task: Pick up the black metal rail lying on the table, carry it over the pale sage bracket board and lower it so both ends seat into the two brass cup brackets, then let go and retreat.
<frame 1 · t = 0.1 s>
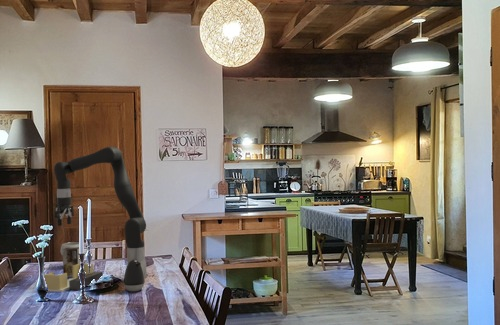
hand: (64, 224, 277), 29 cm above the table, fingers open, 8 cm apart
coffee box: (73, 276, 275), on the table
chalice: (72, 267, 301), on the table
bracket board: (70, 284, 255), on the table
rail: (86, 285, 252), on the table
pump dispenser: (134, 290, 238), on the table
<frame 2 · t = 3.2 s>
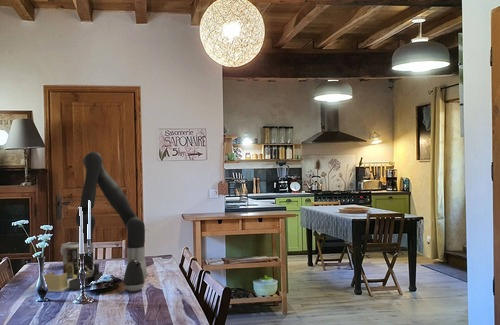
hand: (86, 283, 252), 1 cm above the table, fingers open, 7 cm apart
nothing on the table moved.
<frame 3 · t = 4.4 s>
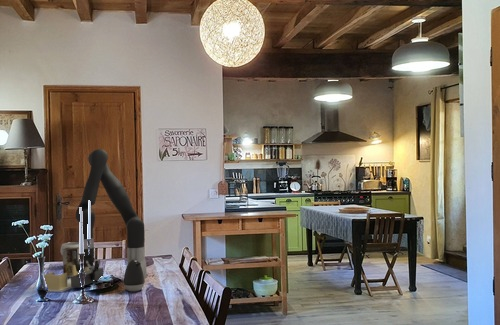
hand: (87, 279, 252), 3 cm above the table, fingers closed on rail, 5 cm apart
rail: (87, 281, 252), point 2 cm above the table, touching gripper
everything else where it was.
when the fingers open (3 cm above the table, at t = 8.3 s): rail stays where it is, resting on bracket board.
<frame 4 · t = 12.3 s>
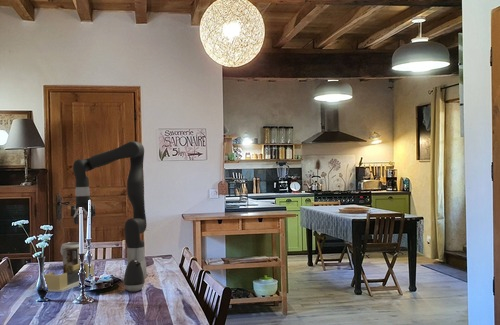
hand: (83, 224, 269), 30 cm above the table, fingers open, 8 cm apart
rail: (70, 282, 255), point 1 cm above the table, touching bracket board
everything else where it was.
at the end: rail 0.1 cm off-centre on the bracket board, point 1.0 cm above the bracket board's base; rail tilted 0°; the gripper is holding nothing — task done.
